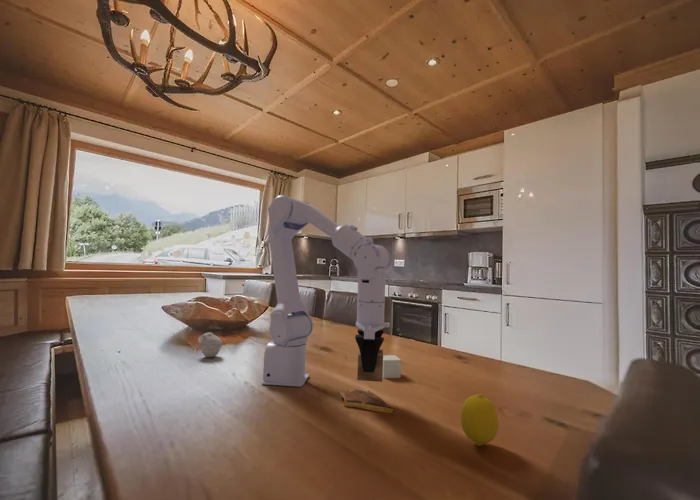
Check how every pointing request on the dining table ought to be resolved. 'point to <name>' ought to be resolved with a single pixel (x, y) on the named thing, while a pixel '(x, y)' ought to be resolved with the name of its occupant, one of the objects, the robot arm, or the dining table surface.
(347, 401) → the shard
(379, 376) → the walnut block
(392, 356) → the white cube
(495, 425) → the lemon
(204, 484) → the dining table surface
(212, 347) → the round grey stone
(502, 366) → the dining table surface
